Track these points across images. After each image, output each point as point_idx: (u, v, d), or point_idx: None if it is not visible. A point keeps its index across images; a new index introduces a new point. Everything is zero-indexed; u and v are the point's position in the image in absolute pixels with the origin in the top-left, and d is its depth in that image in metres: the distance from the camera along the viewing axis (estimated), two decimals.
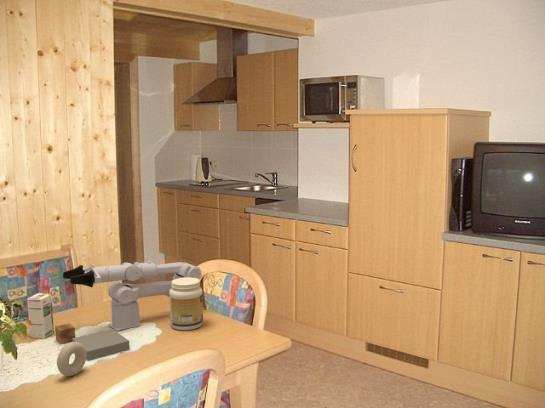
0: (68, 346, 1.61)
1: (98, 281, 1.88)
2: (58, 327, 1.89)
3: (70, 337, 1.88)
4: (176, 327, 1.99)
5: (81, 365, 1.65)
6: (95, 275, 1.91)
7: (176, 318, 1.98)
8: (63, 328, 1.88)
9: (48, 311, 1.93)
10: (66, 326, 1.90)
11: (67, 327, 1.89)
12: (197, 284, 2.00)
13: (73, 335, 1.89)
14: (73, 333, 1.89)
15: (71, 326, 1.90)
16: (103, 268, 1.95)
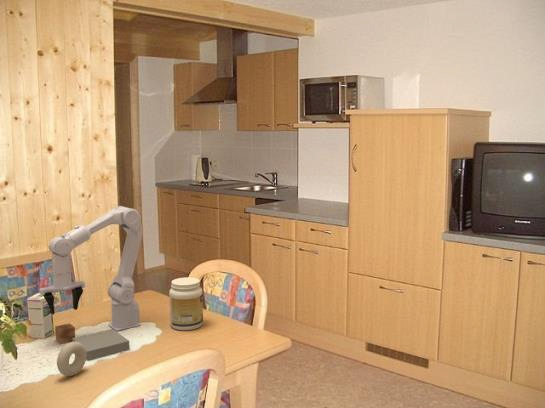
0: (68, 346, 1.61)
1: None
2: (58, 327, 1.89)
3: (70, 337, 1.88)
4: (176, 327, 1.99)
5: (81, 365, 1.65)
6: None
7: (176, 318, 1.98)
8: (63, 328, 1.88)
9: (48, 311, 1.93)
10: (66, 326, 1.90)
11: (67, 327, 1.89)
12: (197, 284, 2.00)
13: (73, 335, 1.89)
14: (73, 333, 1.89)
15: (71, 326, 1.90)
16: (68, 277, 1.86)
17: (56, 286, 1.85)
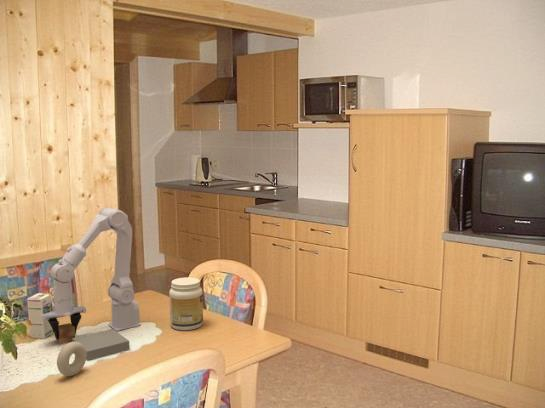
0: (68, 346, 1.61)
1: None
2: None
3: (70, 337, 1.88)
4: (176, 327, 1.99)
5: (81, 365, 1.65)
6: None
7: (176, 318, 1.98)
8: (63, 327, 1.88)
9: (48, 311, 1.93)
10: (66, 326, 1.90)
11: (67, 327, 1.89)
12: (197, 284, 2.00)
13: (73, 335, 1.89)
14: (73, 333, 1.89)
15: (71, 326, 1.90)
16: (69, 303, 1.87)
17: (57, 312, 1.86)
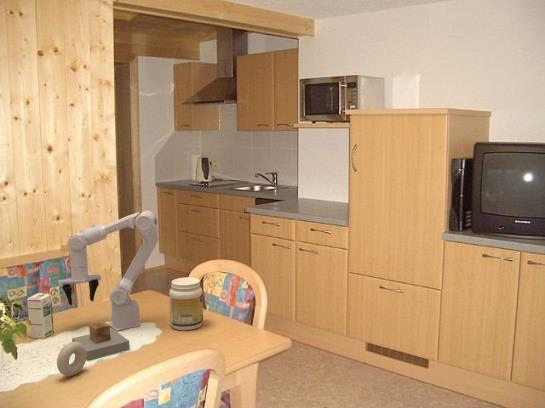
0: (68, 346, 1.61)
1: None
2: (92, 325, 1.82)
3: (105, 335, 1.82)
4: (176, 327, 1.99)
5: (81, 365, 1.65)
6: None
7: (176, 318, 1.98)
8: (98, 326, 1.81)
9: (48, 311, 1.93)
10: (100, 324, 1.83)
11: (102, 325, 1.82)
12: (197, 284, 2.00)
13: (108, 333, 1.82)
14: (108, 331, 1.82)
15: (106, 324, 1.83)
16: (85, 270, 1.98)
17: (74, 278, 1.97)
